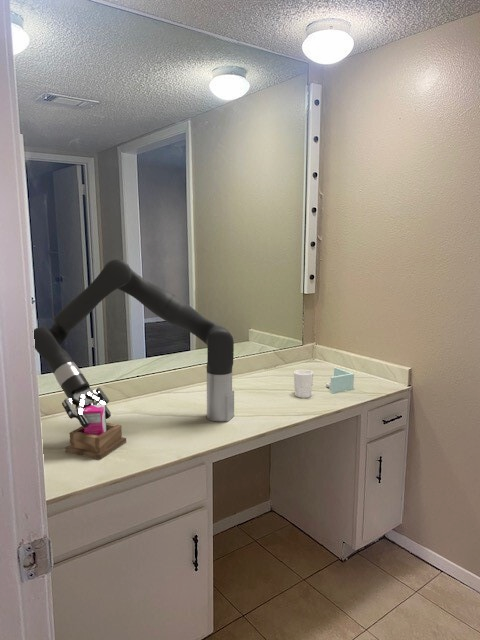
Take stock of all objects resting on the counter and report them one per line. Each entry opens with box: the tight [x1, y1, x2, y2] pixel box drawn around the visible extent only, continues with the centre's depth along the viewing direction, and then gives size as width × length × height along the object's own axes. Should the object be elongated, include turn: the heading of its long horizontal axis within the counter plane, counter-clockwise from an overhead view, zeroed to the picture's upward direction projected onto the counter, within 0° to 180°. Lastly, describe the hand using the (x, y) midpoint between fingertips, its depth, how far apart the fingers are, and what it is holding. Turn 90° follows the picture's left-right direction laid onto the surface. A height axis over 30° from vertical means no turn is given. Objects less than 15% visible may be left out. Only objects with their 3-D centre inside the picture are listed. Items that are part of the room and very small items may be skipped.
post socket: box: [64, 422, 127, 460], centre depth 151 cm, size 13×13×6 cm
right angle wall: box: [325, 366, 355, 394], centre depth 213 cm, size 12×12×8 cm
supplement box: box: [82, 404, 107, 436], centre depth 151 cm, size 6×6×12 cm
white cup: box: [293, 369, 314, 399], centre depth 202 cm, size 8×8×10 cm
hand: (98, 421), depth 150 cm, fingers open, 8 cm apart
